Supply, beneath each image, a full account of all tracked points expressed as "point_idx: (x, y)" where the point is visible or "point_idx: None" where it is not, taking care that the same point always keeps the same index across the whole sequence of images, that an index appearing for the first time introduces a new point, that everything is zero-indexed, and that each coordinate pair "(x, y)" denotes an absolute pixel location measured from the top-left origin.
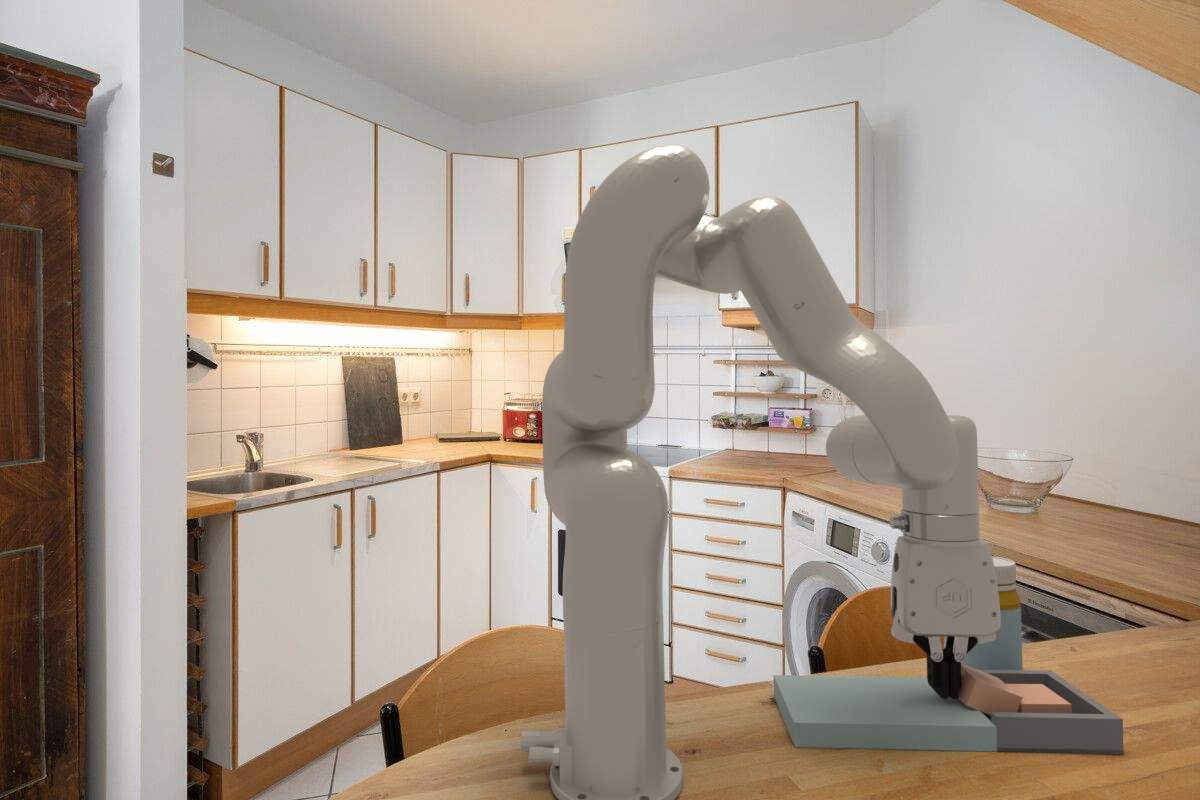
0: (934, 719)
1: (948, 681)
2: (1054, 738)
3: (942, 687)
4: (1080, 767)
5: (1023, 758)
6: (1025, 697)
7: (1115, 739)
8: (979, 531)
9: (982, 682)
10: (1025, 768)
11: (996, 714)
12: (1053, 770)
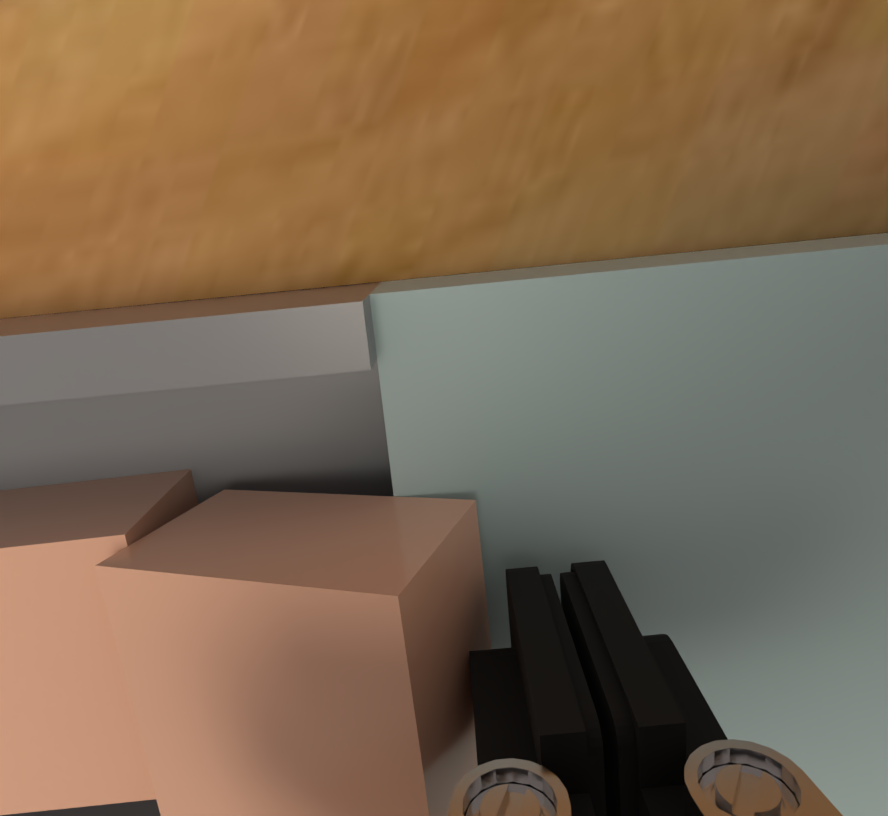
0: (721, 341)
1: (587, 627)
2: (56, 319)
3: (620, 600)
4: (18, 176)
5: (272, 231)
6: (72, 628)
7: None
8: None
9: (354, 586)
10: (299, 123)
11: (349, 334)
12: (164, 122)
